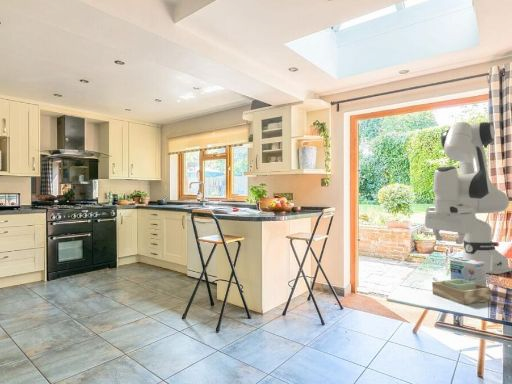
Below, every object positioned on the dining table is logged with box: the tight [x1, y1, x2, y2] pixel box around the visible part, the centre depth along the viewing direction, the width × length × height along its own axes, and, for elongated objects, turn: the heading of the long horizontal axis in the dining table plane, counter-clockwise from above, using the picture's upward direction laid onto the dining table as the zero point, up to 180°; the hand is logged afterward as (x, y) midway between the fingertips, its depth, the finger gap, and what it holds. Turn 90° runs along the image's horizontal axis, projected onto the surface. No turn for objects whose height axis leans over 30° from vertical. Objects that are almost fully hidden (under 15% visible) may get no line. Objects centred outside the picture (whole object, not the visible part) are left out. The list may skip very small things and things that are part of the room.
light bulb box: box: [449, 257, 488, 287], centre depth 128 cm, size 11×7×11 cm, turn 23°
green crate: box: [443, 279, 476, 291], centre depth 116 cm, size 8×6×5 cm
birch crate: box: [431, 279, 492, 305], centre depth 116 cm, size 12×13×4 cm
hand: (448, 242), depth 124 cm, fingers open, 8 cm apart
